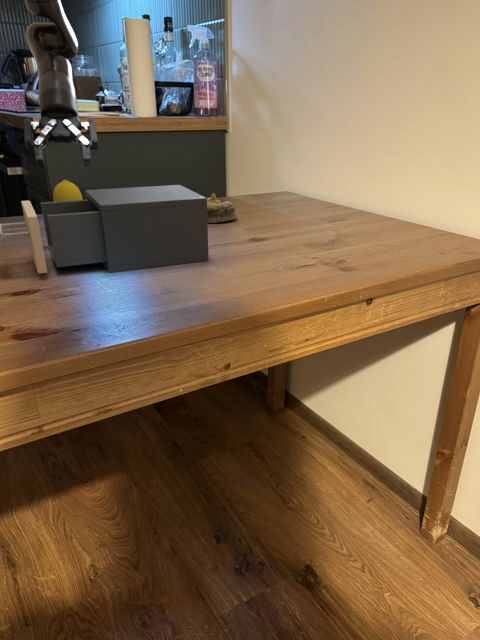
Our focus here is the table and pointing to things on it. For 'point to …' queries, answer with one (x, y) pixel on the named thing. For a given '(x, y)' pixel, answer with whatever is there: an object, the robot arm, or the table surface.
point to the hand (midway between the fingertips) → (64, 163)
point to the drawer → (63, 233)
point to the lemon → (66, 192)
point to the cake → (219, 210)
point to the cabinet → (151, 226)
